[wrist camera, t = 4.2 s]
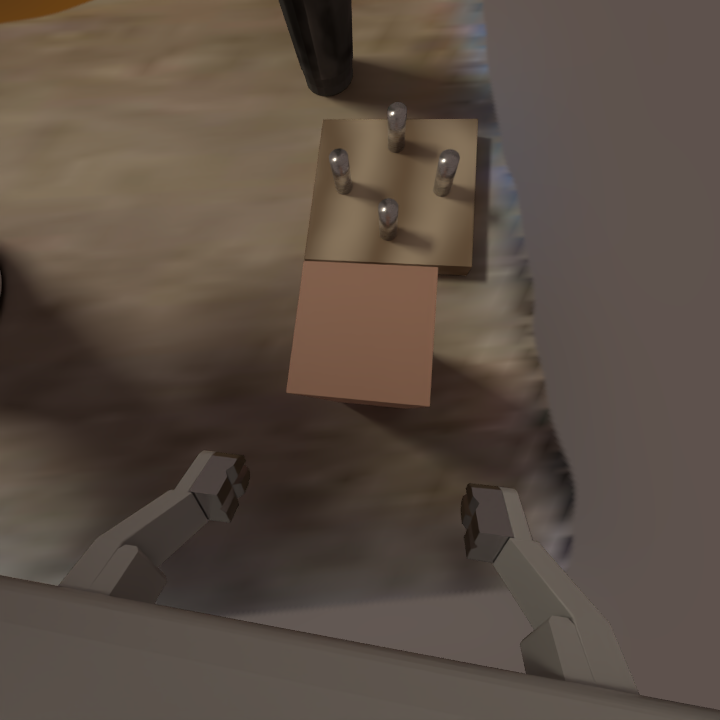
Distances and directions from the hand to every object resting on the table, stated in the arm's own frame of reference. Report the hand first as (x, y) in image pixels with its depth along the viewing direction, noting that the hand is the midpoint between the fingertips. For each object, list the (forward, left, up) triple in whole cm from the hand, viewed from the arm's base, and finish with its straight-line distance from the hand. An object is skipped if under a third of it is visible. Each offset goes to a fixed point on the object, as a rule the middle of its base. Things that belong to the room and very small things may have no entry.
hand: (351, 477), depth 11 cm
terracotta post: (0, +5, -12) cm, 13 cm away
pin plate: (0, +20, -12) cm, 24 cm away
